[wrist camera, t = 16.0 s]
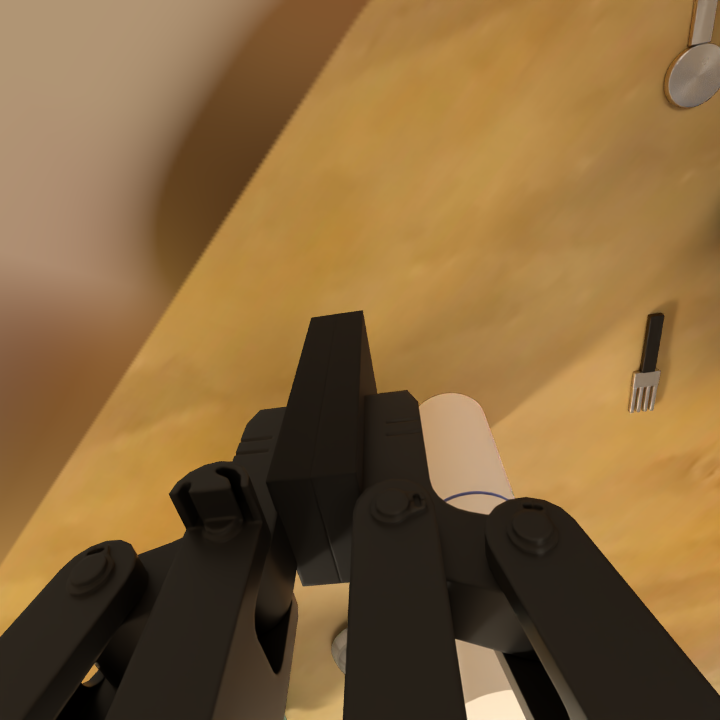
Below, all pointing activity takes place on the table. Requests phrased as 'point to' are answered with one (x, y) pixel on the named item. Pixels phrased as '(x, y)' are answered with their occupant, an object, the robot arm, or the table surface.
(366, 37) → the table surface
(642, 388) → the fork
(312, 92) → the table surface
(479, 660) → the cylindrical container
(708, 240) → the table surface
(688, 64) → the metal disc paddle
